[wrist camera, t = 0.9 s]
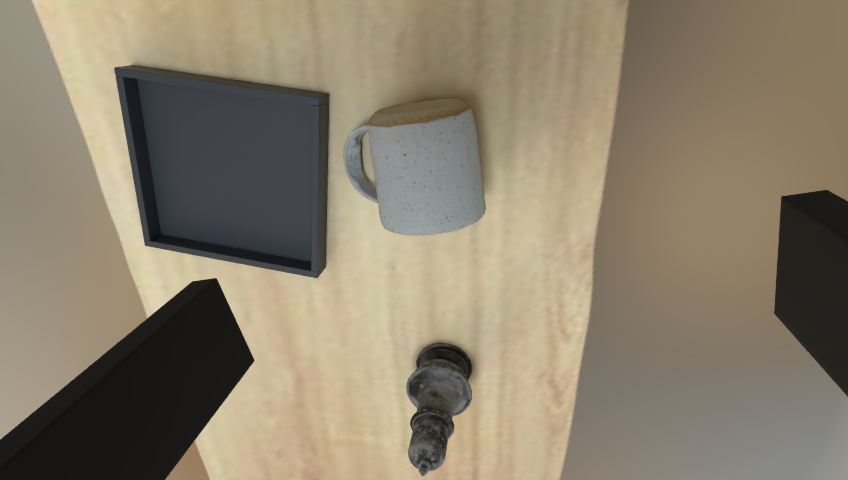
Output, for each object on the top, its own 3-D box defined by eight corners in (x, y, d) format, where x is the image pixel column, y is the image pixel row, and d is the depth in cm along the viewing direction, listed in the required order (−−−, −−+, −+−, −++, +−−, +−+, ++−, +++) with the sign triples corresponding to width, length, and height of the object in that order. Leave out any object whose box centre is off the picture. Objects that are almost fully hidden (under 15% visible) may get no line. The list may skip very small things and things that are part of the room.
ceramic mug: (476, 88, 33) (464, 106, 27) (489, 196, 37) (482, 237, 30) (339, 109, 36) (296, 130, 29) (362, 208, 39) (328, 248, 32)
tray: (132, 65, 37) (113, 67, 35) (329, 93, 36) (319, 97, 34) (159, 236, 44) (144, 245, 42) (325, 267, 42) (317, 278, 40)
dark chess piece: (484, 382, 45) (475, 497, 34) (428, 395, 47) (403, 507, 36) (460, 334, 43) (443, 439, 32) (403, 349, 45) (369, 453, 34)
